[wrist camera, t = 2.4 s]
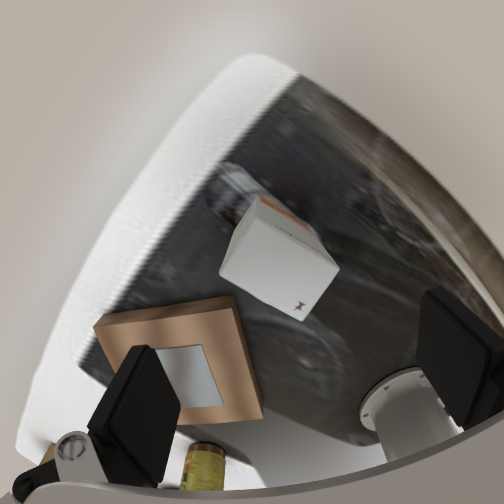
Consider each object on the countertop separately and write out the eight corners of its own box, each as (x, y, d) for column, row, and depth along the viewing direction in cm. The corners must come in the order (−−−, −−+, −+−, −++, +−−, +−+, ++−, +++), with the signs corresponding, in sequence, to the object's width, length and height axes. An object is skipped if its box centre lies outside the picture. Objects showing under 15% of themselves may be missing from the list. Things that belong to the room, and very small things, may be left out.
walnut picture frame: (233, 294, 30) (231, 309, 27) (262, 401, 35) (263, 419, 32) (103, 314, 32) (91, 327, 28) (151, 409, 36) (145, 425, 33)
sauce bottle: (185, 438, 38) (161, 548, 19) (225, 442, 38) (214, 556, 19) (190, 459, 40) (172, 558, 21) (227, 462, 40) (219, 564, 21)
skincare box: (309, 226, 28) (344, 270, 17) (285, 262, 29) (302, 325, 18) (255, 192, 27) (255, 214, 16) (232, 230, 28) (215, 277, 17)
